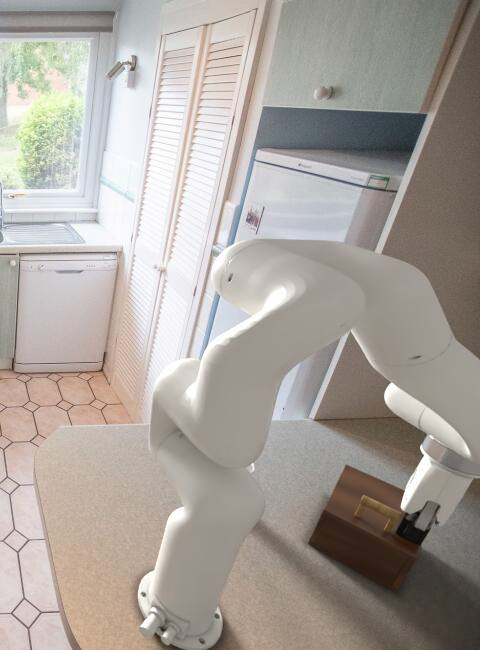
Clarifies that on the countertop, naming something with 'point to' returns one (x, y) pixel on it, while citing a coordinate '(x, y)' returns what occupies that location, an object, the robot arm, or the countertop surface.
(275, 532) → the countertop surface
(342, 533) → the chest
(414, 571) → the countertop surface
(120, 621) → the countertop surface
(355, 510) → the lid
